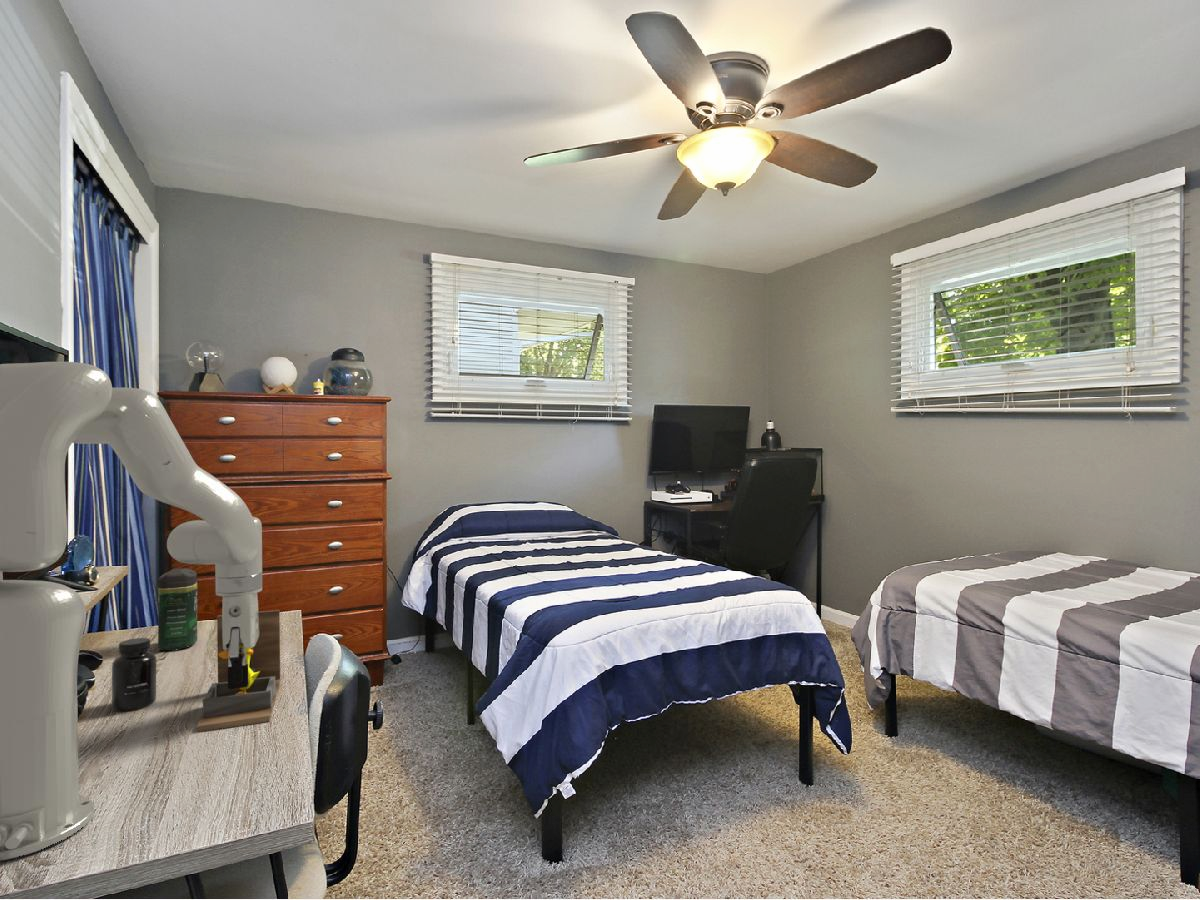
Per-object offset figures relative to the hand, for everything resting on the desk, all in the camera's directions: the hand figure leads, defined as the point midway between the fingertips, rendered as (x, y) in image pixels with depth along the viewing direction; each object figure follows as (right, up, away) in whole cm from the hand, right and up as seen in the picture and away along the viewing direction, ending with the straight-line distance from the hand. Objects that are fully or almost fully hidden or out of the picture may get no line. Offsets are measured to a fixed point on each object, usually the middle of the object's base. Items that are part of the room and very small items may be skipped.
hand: (240, 682), depth 119 cm
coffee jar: (-36, -5, +39) cm, 53 cm away
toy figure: (0, -3, 0) cm, 3 cm away
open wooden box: (-1, -5, +2) cm, 5 cm away
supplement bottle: (-21, -5, +3) cm, 22 cm away
